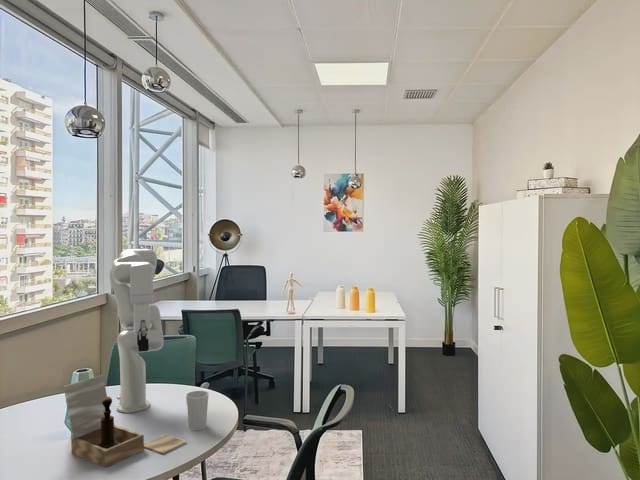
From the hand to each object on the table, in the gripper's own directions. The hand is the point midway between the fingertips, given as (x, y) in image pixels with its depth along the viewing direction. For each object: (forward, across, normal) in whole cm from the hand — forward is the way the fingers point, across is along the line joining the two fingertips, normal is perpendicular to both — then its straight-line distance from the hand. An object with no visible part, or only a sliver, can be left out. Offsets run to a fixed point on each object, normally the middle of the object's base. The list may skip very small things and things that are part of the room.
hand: (142, 348), depth 179 cm
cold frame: (+31, +6, -13) cm, 34 cm away
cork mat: (+31, +10, +6) cm, 33 cm away
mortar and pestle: (+31, +8, -12) cm, 34 cm away
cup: (+31, -2, +18) cm, 36 cm away
